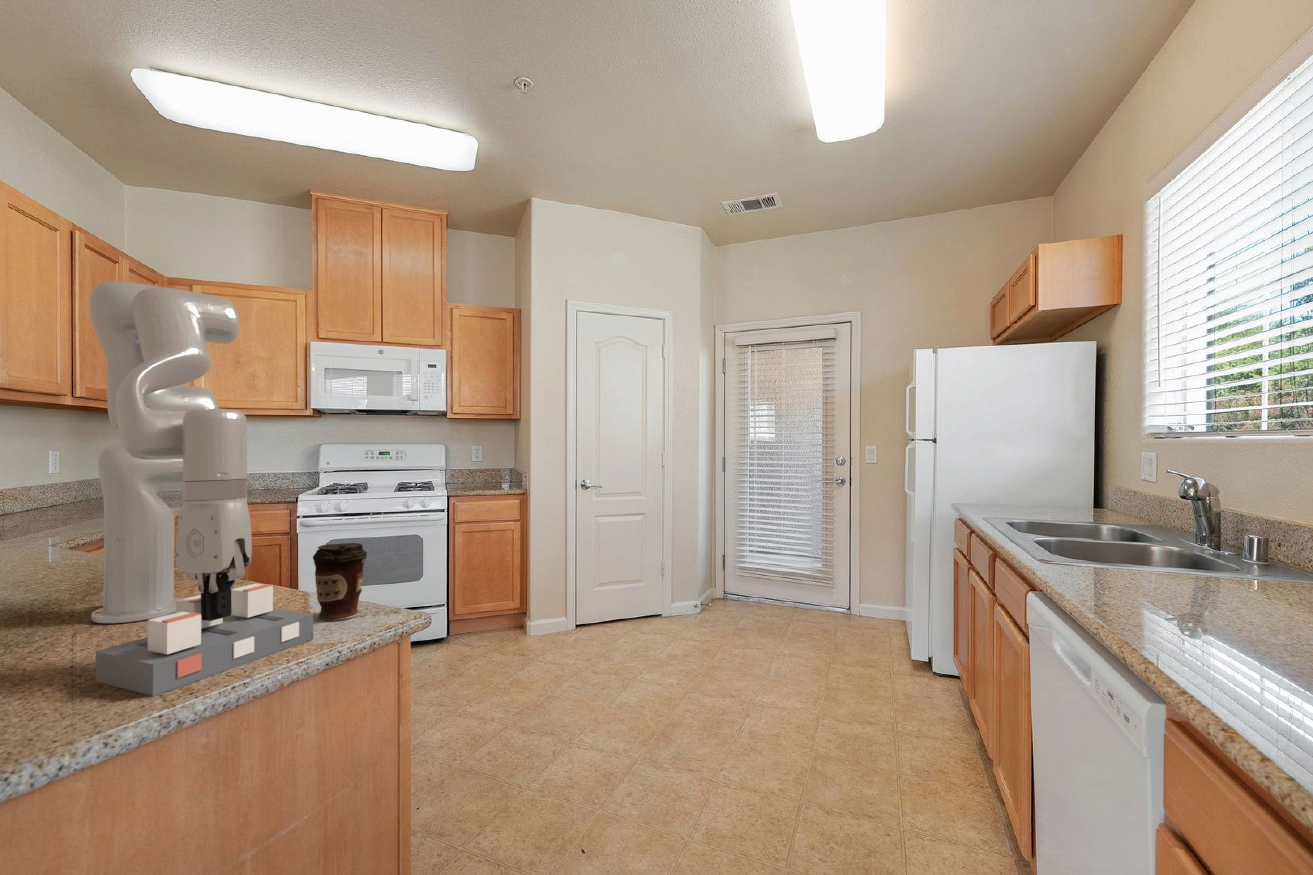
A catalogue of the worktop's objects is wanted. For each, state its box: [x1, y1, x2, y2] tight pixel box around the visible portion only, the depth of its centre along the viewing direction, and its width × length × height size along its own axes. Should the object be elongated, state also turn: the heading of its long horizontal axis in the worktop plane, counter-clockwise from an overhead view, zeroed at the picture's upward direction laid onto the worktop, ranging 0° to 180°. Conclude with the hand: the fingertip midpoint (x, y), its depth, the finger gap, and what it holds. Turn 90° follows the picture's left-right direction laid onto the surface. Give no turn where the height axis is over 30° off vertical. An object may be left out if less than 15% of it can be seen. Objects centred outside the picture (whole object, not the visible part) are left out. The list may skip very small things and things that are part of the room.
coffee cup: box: [312, 542, 368, 621], centre depth 103 cm, size 9×8×13 cm
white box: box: [147, 611, 201, 654], centre depth 76 cm, size 4×4×4 cm
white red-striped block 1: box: [175, 594, 223, 629], centre depth 85 cm, size 4×4×4 cm
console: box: [95, 607, 314, 697], centre depth 84 cm, size 12×22×4 cm, turn 160°
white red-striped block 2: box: [231, 583, 274, 618], centre depth 91 cm, size 4×4×4 cm
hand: (216, 617), depth 83 cm, fingers closed
